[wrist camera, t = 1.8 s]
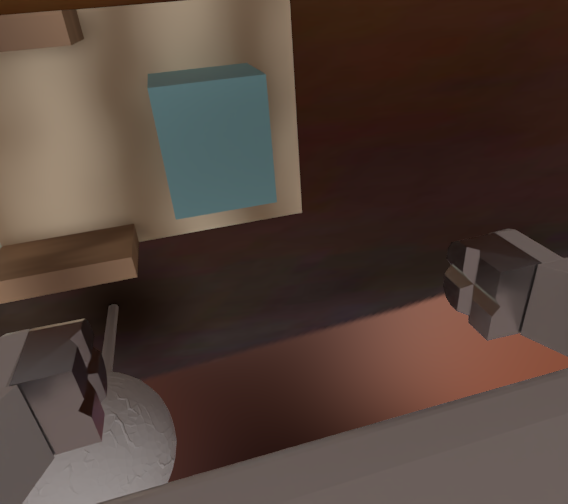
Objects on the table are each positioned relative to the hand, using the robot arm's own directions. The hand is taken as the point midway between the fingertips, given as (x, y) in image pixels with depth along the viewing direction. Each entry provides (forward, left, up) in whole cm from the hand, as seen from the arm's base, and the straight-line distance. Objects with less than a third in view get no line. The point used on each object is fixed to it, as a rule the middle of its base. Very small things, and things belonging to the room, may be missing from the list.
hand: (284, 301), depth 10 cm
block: (0, 0, -17) cm, 17 cm away
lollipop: (+8, +11, -19) cm, 23 cm away
